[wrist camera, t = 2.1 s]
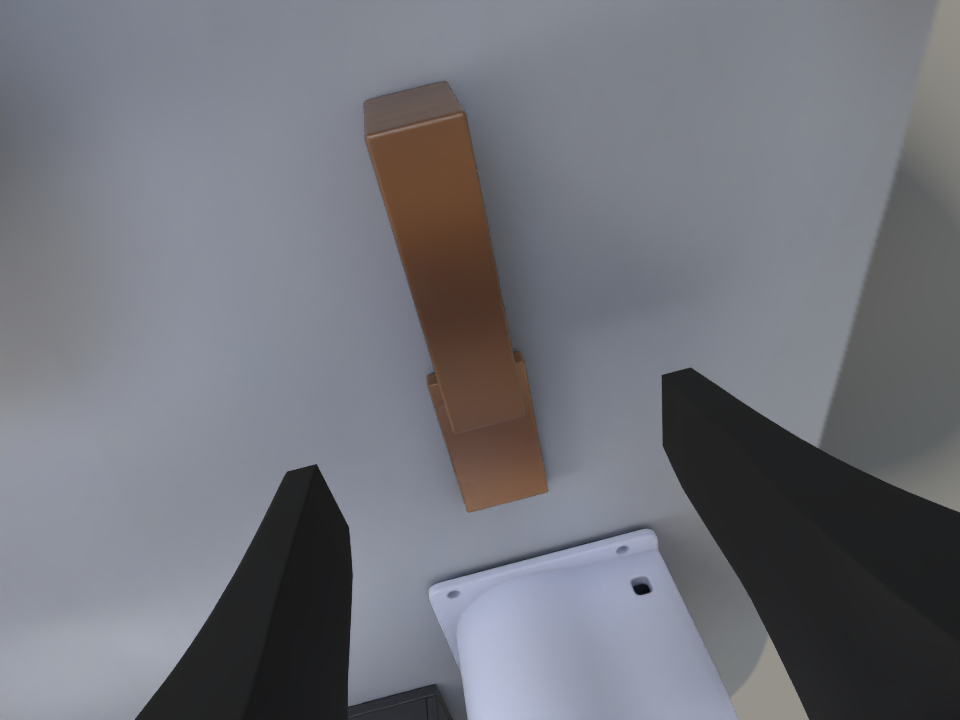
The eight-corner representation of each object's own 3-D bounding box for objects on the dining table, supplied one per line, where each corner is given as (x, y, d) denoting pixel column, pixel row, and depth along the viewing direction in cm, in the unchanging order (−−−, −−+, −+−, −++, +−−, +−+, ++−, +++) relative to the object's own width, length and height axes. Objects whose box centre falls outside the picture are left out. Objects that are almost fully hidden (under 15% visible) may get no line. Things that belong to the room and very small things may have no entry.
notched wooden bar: (544, 480, 22) (567, 547, 20) (465, 500, 22) (478, 570, 20) (467, 74, 14) (491, 104, 12) (341, 105, 14) (337, 142, 12)
